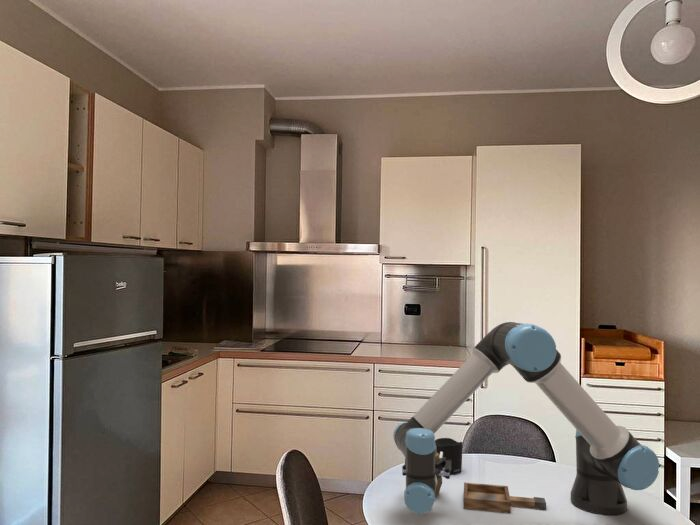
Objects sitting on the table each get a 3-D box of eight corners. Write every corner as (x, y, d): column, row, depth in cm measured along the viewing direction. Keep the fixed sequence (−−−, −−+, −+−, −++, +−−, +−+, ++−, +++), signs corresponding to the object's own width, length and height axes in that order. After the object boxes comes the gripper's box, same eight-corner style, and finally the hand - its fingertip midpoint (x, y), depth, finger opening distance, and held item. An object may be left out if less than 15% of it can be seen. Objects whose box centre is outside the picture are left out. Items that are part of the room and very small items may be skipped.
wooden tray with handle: (542, 499, 162) (542, 488, 162) (548, 516, 149) (548, 505, 149) (464, 492, 167) (464, 482, 167) (463, 508, 154) (463, 497, 154)
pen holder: (436, 474, 183) (436, 444, 183) (434, 466, 192) (434, 437, 193) (464, 475, 182) (464, 445, 183) (460, 466, 191) (460, 438, 192)
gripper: (388, 490, 150) (399, 465, 172) (460, 497, 146) (461, 469, 168) (388, 463, 150) (399, 441, 173) (459, 468, 146) (461, 445, 168)
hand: (430, 455), depth 170 cm, fingers closed on squeeze bottle, 6 cm apart
